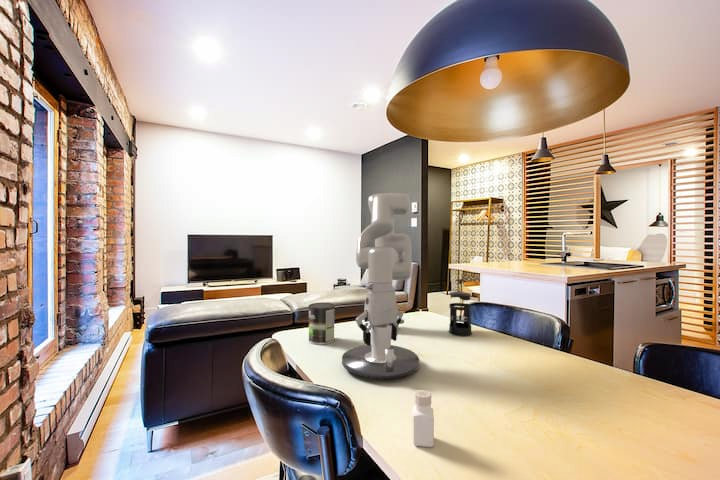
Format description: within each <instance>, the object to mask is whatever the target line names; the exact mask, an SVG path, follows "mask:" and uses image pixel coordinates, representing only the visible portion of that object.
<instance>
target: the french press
mask: <svg viewBox="0 0 720 480" xmlns="http://www.w3.org/2000/svg"><path fill="white" fill-rule="evenodd" d="M455 281H456V282H459V283H458V284H459V291H452V292H449V295H450V299H452V298H459V302H453V303H449V304H448V305H449V318H450V319H449V329H448V333H449V334H451V335H453V336H456V337H457V336H458V337H470V336H472V335H473V332H472V321H471V320H472V314H471V313H472V305H471V304H470V303H465V302H464V303H462V301H470V300H471V296H472V293H469V292H464V291H462V282H466V279H461V278H458V279H455ZM461 300H462V301H461ZM457 311H459V315H457V314H458V313H457ZM462 311H463V315H462V314H461V312H462Z"/></svg>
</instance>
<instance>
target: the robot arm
mask: <svg viewBox="0 0 720 480" xmlns="http://www.w3.org/2000/svg"><path fill="white" fill-rule="evenodd" d="M367 204H368V210H369V212H370V214H371V220H370V223H371V224H369V225H368V226H367V227H366V228H365V229H363V231H362V232H361V233H360V235H359V237H358V240H357V243H356V252H355V262H356V265H357V267H358V268H360V269H362V270H368V281H367V284H365V285H364V286H365V287H364V288H365V290H368V291H366V295H365V298H364V309H363V311H364V312H362V313H360V315H358V316H357V317H356V318H355V322H356V324H357V327H359V329H361V331H362V341H363V343H364V345H368V346H370V345H372V344H371V328H372V326H381V325H387V324H392V331H391V341H397V339H398V338H397V336H398V335H397V334H398V332H399V330H400V327H399V325H402V324H404V323H405V319H403V316H404V312H403V311H401V310H399V309H398V304H397V302H398V301H397V296H396V289H395V287H394V285H393V281H408V280H410V279H411V277H412V272H413V271H412V270H413V269H412V264H413V263H412V261H413V259H412V257H413V256H412V255H413V254H412V253H413V250H412V240H411V237H410V236H409V235H408V234H406V233H395V216H400V215H401V216H404V215H408V214H409V213H410V210H411V199H410V195H408V193H405V192H404V193H403V192H387V193H385V192H384V193H383V192H382V193H375V194H371V195H370V196H368V200H367ZM372 241H374V246H367V245H368V244H369V243H371V242H372ZM399 256H400V257H401V258H399ZM363 320H364V323H363Z"/></svg>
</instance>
